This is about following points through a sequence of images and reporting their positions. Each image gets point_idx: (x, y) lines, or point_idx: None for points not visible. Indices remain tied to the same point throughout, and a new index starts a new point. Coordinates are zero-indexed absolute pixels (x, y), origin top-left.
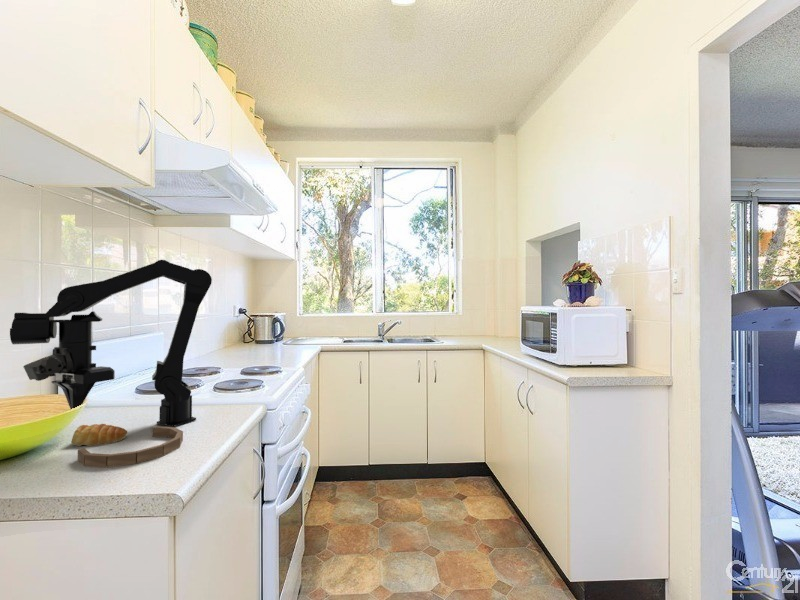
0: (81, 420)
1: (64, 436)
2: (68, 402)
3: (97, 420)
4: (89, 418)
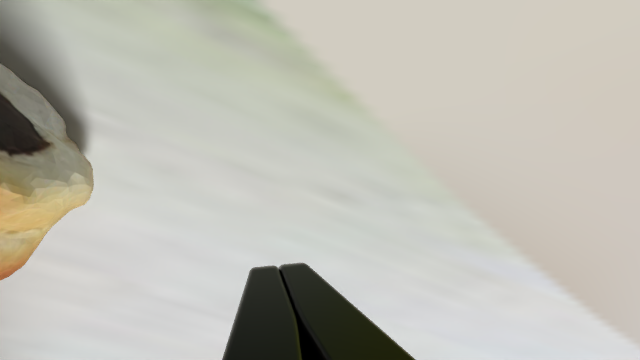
0: (578, 313)
1: (332, 97)
2: (366, 337)
3: (479, 356)
4: (565, 347)
